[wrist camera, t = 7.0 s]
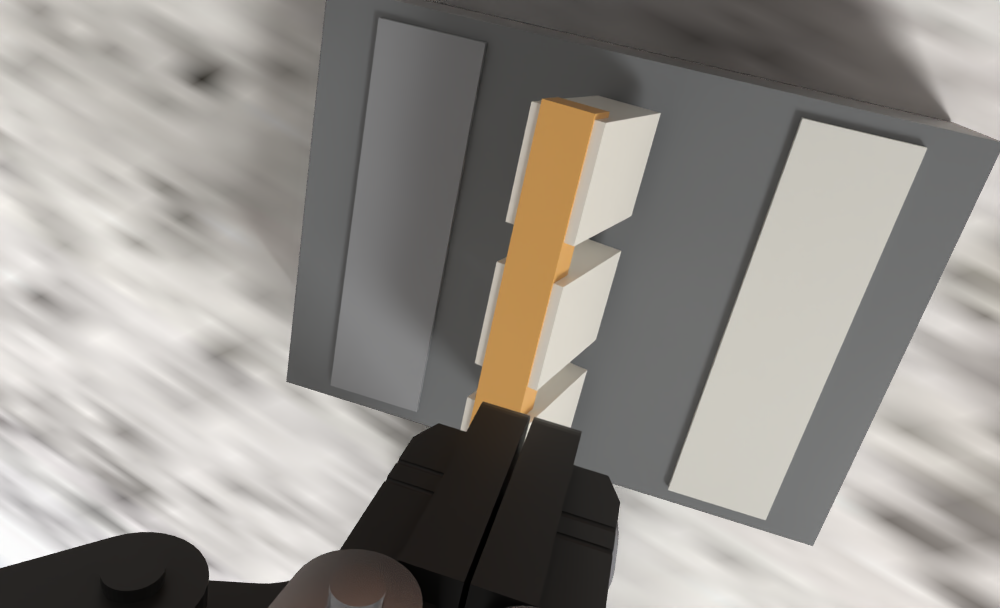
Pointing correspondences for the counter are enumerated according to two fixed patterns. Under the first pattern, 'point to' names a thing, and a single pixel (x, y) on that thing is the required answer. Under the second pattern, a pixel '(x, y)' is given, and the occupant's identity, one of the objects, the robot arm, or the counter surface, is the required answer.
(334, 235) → the breaker panel
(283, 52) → the counter surface
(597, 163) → the breaker paddles
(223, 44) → the counter surface
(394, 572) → the robot arm
